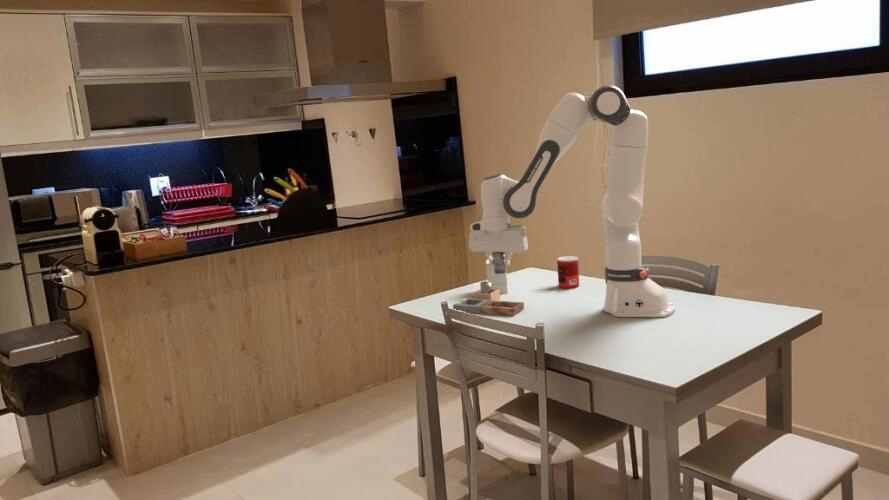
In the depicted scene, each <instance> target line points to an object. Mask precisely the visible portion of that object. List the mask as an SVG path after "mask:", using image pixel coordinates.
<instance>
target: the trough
mask: <svg viewBox="0 0 889 500" xmlns="http://www.w3.org/2000/svg"><path fill="white" fill-rule="evenodd" d="M524 305H525V303H524V301H523V302H522V301H505V300H499V301H490V302H488V303H487V304H485V305H483V306H482V307H481V308H482V312H481V314H482V315H495V316H509V317H515V316H517V315H518V314H520V313H521V312H522V311H524V310H525V306H524Z"/></svg>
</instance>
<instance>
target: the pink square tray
mask: <svg viewBox="0 0 889 500" xmlns="http://www.w3.org/2000/svg"><path fill="white" fill-rule="evenodd" d="M500 295H501V294H500V292H499V289H492V293H490V294H485V293H481V288H479V289H478V290H476V291H474V292H472V299H490V301H501V296H500Z"/></svg>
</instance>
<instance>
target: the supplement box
mask: <svg viewBox="0 0 889 500" xmlns="http://www.w3.org/2000/svg"><path fill="white" fill-rule="evenodd" d="M485 267H486V268H485V269H486V276H487V277H486V279H487V281H490V282H492V289H499V292H500V295H505V294H508V293H509V292H508V291H509V286H508V273H507V271H506V273H502V274H496V273H494V265H490V264H489V260H488V259H486V260H485Z"/></svg>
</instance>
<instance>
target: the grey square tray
mask: <svg viewBox="0 0 889 500" xmlns="http://www.w3.org/2000/svg"><path fill="white" fill-rule="evenodd" d="M488 302H490V299H473V297H472V298H469V297H467V298H466V297H465V298H463V299H461V300H459V301H458V302H455V303H454V304H452V307H453V308H452V309H456V310H461V311H465V312H469V313H468V314H478V315H479V314H482V308H481V307H482V306H483V305H485V304H487V303H488Z"/></svg>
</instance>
